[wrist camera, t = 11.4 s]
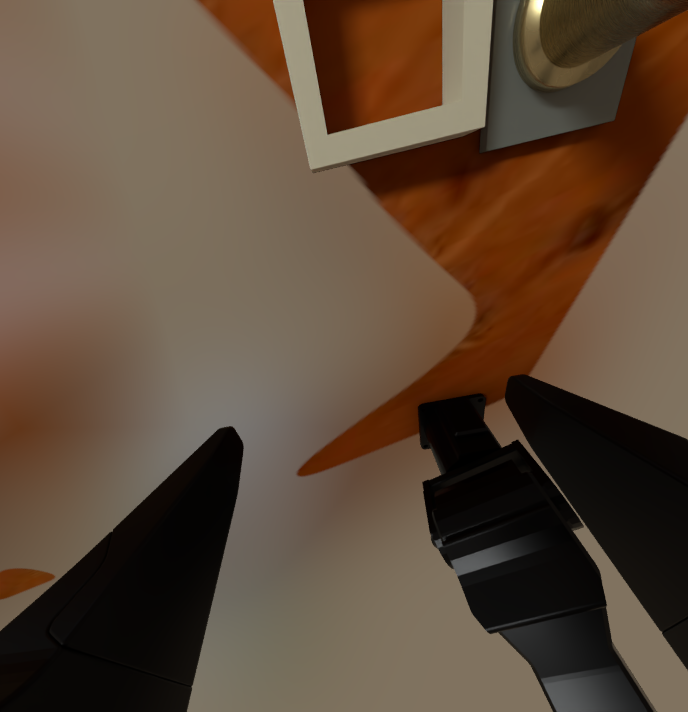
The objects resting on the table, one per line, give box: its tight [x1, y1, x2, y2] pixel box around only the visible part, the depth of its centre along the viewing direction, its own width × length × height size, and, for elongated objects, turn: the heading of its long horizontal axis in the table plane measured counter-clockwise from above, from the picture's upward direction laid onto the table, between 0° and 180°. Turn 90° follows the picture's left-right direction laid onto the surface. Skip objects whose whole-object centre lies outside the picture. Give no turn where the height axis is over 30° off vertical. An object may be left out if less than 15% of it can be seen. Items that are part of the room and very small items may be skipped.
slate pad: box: [479, 0, 636, 153], centre depth 13 cm, size 9×7×1 cm
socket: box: [273, 0, 493, 173], centre depth 12 cm, size 9×9×2 cm
